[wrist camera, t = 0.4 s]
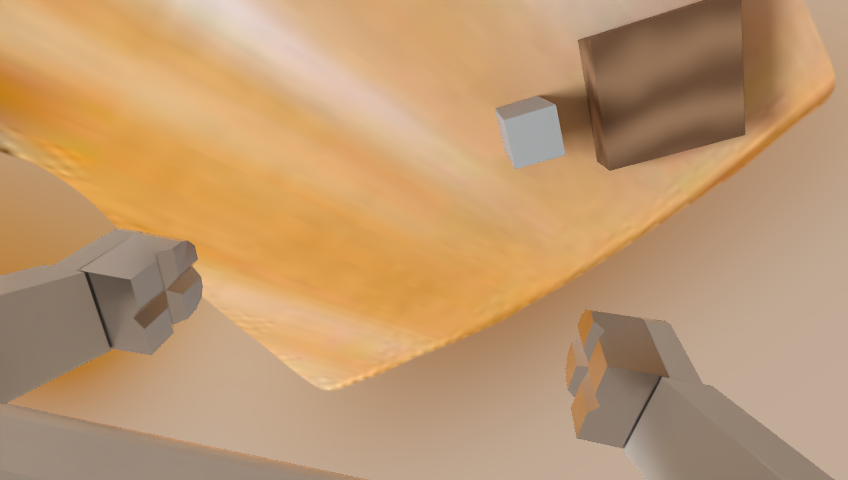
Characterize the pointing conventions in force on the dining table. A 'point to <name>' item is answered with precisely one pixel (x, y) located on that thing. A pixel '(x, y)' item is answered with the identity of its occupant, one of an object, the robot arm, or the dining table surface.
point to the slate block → (530, 131)
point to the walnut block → (665, 83)
